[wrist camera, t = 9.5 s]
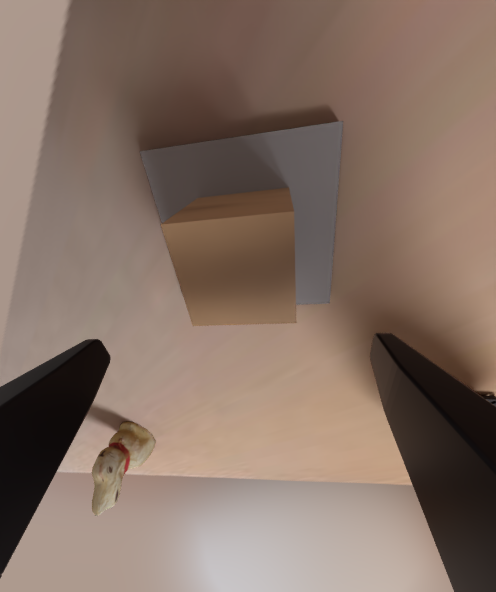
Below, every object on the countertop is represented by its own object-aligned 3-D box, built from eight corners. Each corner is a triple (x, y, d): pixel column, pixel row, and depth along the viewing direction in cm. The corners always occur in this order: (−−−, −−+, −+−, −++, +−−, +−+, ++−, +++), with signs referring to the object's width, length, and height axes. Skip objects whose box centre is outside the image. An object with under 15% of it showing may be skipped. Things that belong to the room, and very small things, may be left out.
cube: (291, 272, 18) (296, 323, 13) (215, 277, 19) (192, 325, 14) (288, 187, 15) (293, 211, 10) (197, 197, 16) (160, 224, 11)
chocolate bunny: (154, 423, 35) (115, 512, 27) (156, 448, 39) (124, 531, 31) (117, 416, 35) (66, 502, 27) (123, 442, 39) (82, 523, 31)
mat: (327, 296, 20) (329, 303, 19) (191, 302, 22) (188, 308, 21) (339, 122, 14) (343, 120, 13) (147, 150, 16) (139, 151, 15)
